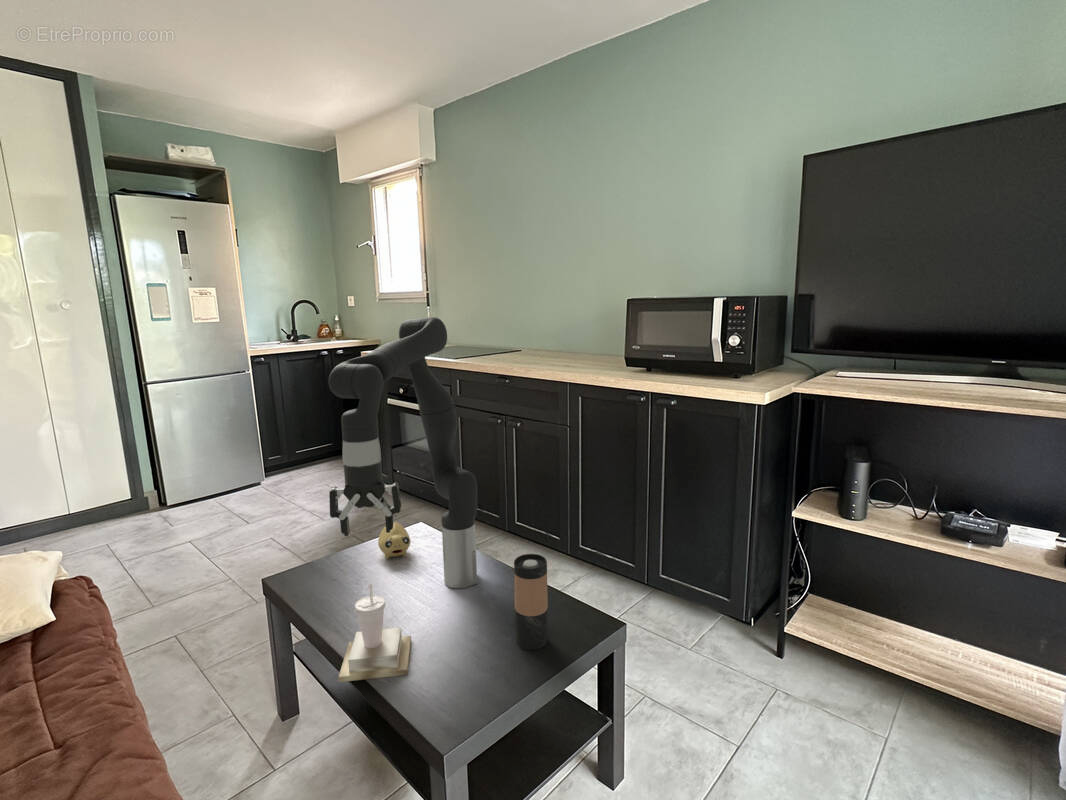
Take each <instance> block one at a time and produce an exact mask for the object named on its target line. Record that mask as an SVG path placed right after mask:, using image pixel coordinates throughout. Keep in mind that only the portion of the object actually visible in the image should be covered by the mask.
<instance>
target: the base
mask: <svg viewBox="0 0 1066 800" xmlns="http://www.w3.org/2000/svg"><path fill="white" fill-rule="evenodd" d="M411 645H412V636H411V635H404V636H402V627H392V628H383V629H382V642H381V644H380V645H379V646H378V647H375V648H366V647H365V646H364V641H363V637H362V632H361V631H355V636H354V639H353V641H348V645H347V649H346V651H345V654H344V658H343V660H342V661H343V662H342V664H341V668H340V670H339V674H338V682H339V683H342V682H352V681H354V682H355V681H362V680H370V679H379V678H380V679H381V678H387V677H397V676H399V677H400V676H407V675H408V669H409V664H410V663H409V661H410V653H411Z"/></svg>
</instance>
